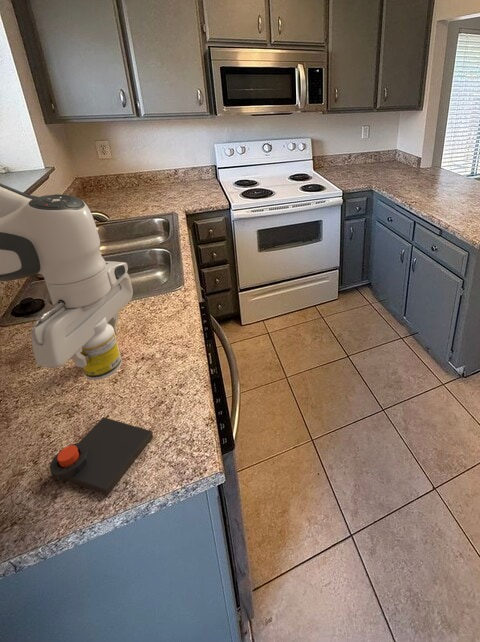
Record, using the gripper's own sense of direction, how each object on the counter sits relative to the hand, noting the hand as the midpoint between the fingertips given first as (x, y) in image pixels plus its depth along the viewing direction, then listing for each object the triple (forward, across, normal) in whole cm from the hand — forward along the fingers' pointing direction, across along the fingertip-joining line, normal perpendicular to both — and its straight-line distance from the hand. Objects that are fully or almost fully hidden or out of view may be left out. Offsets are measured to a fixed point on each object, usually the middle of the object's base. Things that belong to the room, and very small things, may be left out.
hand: (98, 349), depth 67 cm
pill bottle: (+5, 0, 0) cm, 5 cm away
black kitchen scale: (+25, -3, +2) cm, 26 cm away
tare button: (+22, -6, +7) cm, 24 cm away
